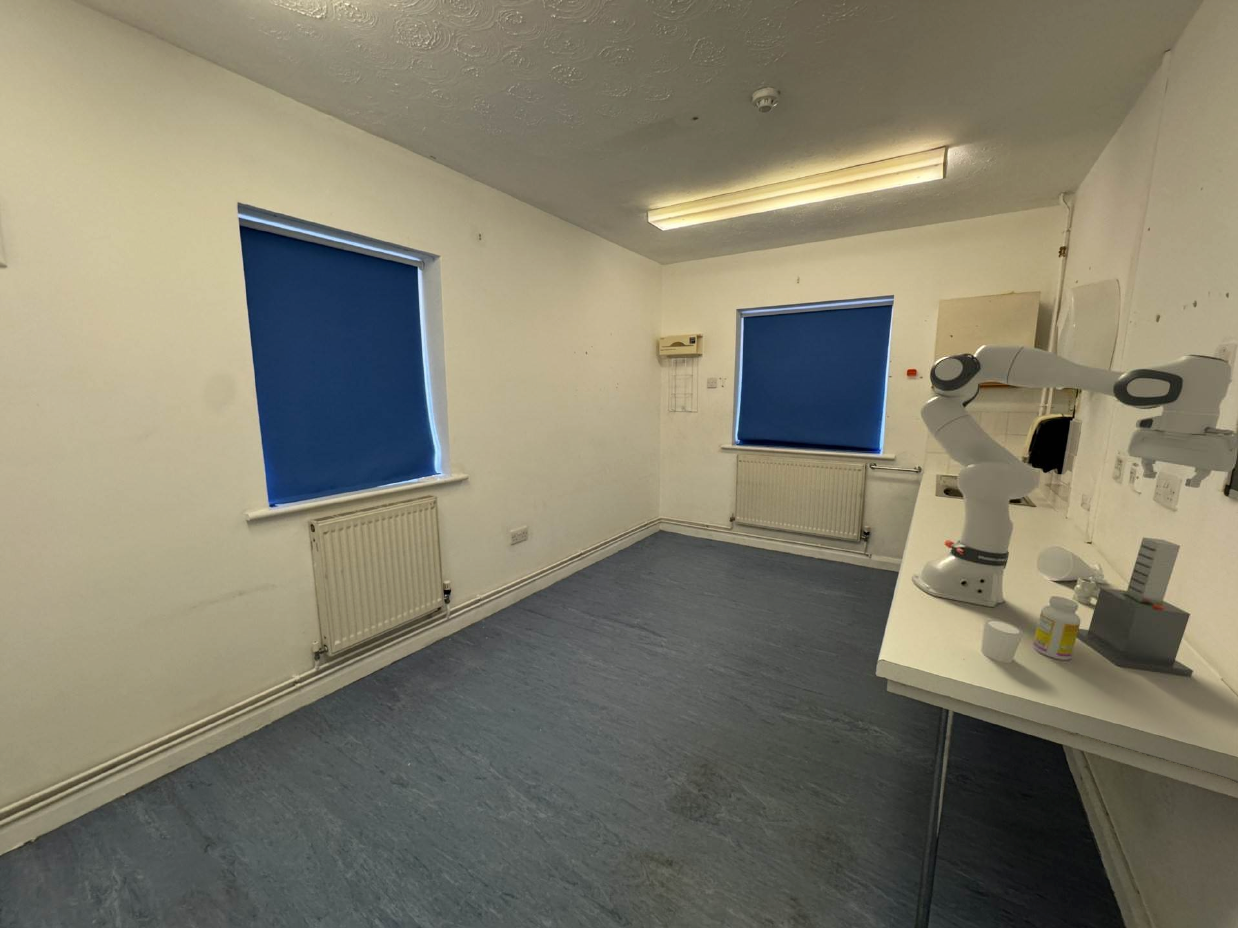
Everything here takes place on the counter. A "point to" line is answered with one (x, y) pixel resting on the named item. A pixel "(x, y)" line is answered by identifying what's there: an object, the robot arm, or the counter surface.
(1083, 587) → the valve
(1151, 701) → the counter surface
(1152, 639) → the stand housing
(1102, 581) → the rocket engine
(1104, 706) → the counter surface
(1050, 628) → the supplement bottle
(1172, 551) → the column
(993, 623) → the white cup
